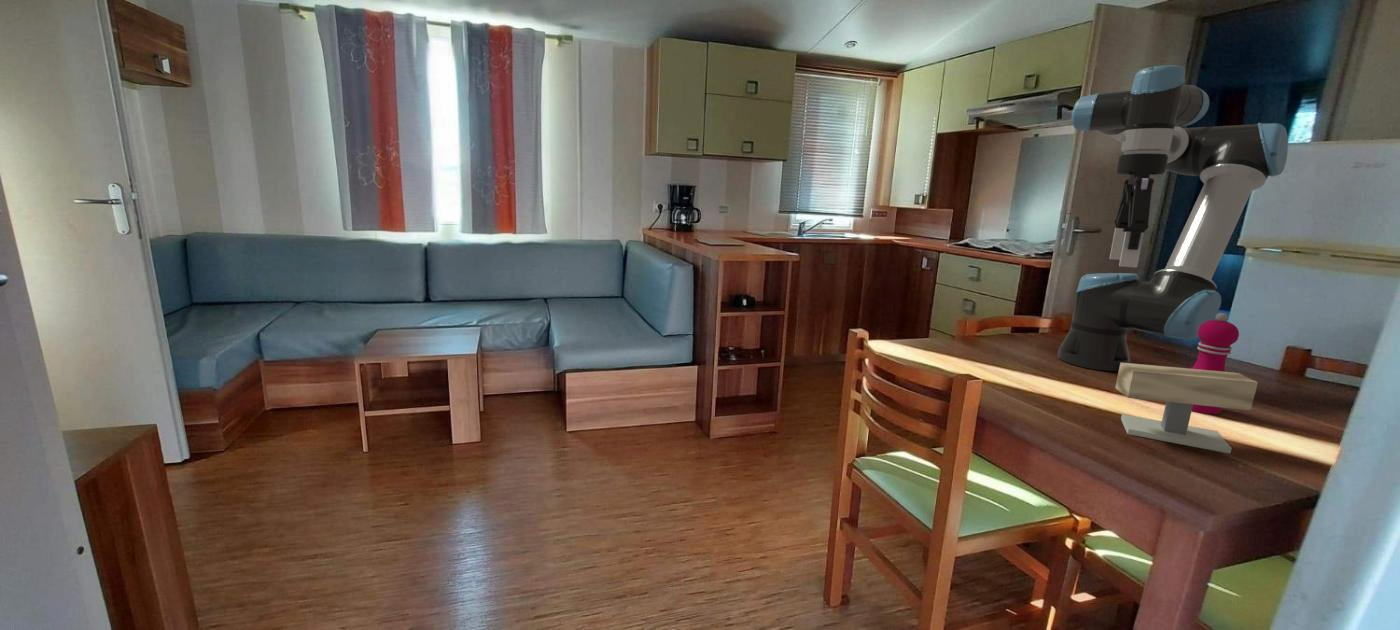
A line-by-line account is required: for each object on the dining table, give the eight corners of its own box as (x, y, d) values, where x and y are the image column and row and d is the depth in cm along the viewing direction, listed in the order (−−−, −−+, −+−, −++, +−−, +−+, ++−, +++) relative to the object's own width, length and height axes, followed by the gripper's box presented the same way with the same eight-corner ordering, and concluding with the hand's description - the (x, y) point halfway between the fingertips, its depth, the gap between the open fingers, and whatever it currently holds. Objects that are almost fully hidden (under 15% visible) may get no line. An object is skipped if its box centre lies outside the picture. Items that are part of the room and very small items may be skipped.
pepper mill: (1232, 417, 109) (1258, 318, 105) (1190, 413, 111) (1214, 315, 106) (1208, 403, 116) (1231, 310, 112) (1168, 400, 118) (1189, 307, 113)
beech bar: (1115, 388, 103) (1120, 362, 102) (1231, 399, 99) (1238, 373, 98) (1127, 397, 99) (1133, 370, 98) (1250, 410, 94) (1257, 382, 93)
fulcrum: (1120, 418, 107) (1128, 384, 106) (1216, 436, 100) (1225, 399, 99) (1127, 434, 100) (1135, 397, 99) (1230, 453, 94) (1240, 414, 92)
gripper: (1111, 157, 120) (1093, 255, 125) (1130, 149, 99) (1108, 268, 103) (1155, 156, 116) (1134, 258, 121) (1185, 148, 95) (1158, 272, 100)
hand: (1122, 263), depth 112 cm, fingers open, 13 cm apart
